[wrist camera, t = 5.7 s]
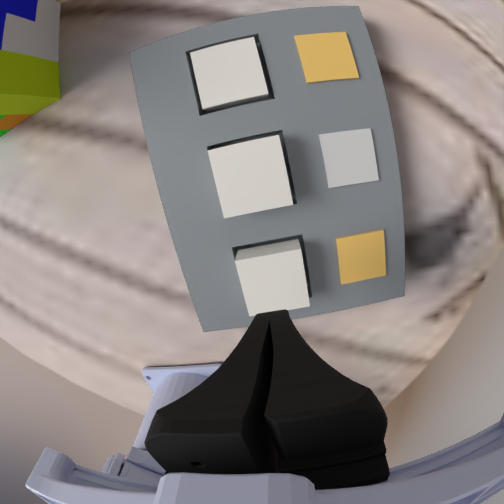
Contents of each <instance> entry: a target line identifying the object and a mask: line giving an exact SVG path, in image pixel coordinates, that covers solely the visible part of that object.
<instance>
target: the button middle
mask: <svg viewBox="0 0 504 504" xmlns="http://www.w3.org/2000/svg"><path fill="white" fill-rule="evenodd" d="M208 155H209V159H210V163H211V167H212V171H213V176H214V180H215V184H216V188H217V192H218V196H219V200H220V204H221V208H222V212H223V216H224V218H229V217H234V216H239V215H244V214H248V213H253V212H259V211H264V210H269V209H274V208H279V207H284V206H290V205H293V201H292V196H291V191H290V185H289V180H288V175H287V170H286V166H285V161H284V156H283V151H282V146H281V142H280V137H279V135H275V136H270V137H265V138H260V139H255V140H251V141H246V142H241V143H237V144H233V145H228V146H224V147H220V148H216V149H212V150H208Z"/></svg>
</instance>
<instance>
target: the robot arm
mask: <svg viewBox="0 0 504 504" xmlns="http://www.w3.org/2000/svg"><path fill="white" fill-rule="evenodd" d="M142 375H143V376H144V378H145V380H146V381H147V383H148V385H149V387H150V388H151V390H152V392H153V393H154V395H153V397H152V400H151V402H150V404H149V407H148V409H147V412H146V414H145V417H144V419H143V422H142V424H141V427H140V429H139V432H138V434H137V437H136V439H135V442H134V444H133V446H132V447H131V449H130V451H129V454H128V457H127V459H126V460H125V459H124V457H125V455H123V454H121V453H117V454H116V455H112V456H109V457H108V459H107V460H106V463H105V465H104V467H103V469H102V471H101V472H100V471H96V470H93V469H89V468H86V467H83V466H80V465H76V464H75V462H74V461H73V460H72V459H71V458H69V457H68V456H67V455H65V454H64V453H62V452H59V451H57V450H54V449H51V448H48V447H46V448H45V449H44V451H43V453H42V455H41V457H40V458H39V460H38V462H37V464H36V465H35V467H34V469H33V471H32V473H31V475H30V477H29V478H28V480H27V482H26V487H27V488H28V489H30V490H31V491H32V492H33V493H35V494H36V495H37V496H39V497H40V498H42V499H43V500H44V501H46V502H47V503H49V504H480V503H482V502H483V501H485V500H487V499H488V498H490V497H491V496H493V495H495V494H496V493H498V492H499V491H501V490H502V489H504V414H503V416H502V418H501V421H499V422H498V423H496V424H494V425H492V426H490V427H489V428H487V429H485V430H483V431H481V432H479V433H477V434H476V435H473V436H472V437H469V438H467V439H465V440H463V441H461V442H459V443H457V444H455V445H452V446H450V447H448V448H445V449H443V450H441V451H438V452H436V453H433V454H431V455H428V456H425V457H423V458H420V459H417V460H415V461H412V462H409V463H406V464H403V465H400V466H396V467H393V468H390V469H389V467H388V463H387V460H386V456H385V453H386V448H385V444H384V437H385V433H386V428H387V417H386V414H385V411H384V409H383V407H382V406H381V404H380V402H379V401H378V399H377V397H376V396H375V395H374V393H373V392H372V390H371V389H370V388H367V387H365V386H363V385H361V384H359V383H356V382H354V381H352V380H351V379H349V378H347V377H346V376H344V375H342V374H341V373H339V372H338V371H337V370H335V369H334V368H332V367H331V366H330V365H328V364H327V363H326V362H325V361H324V360H323V359H321V358H320V357H319V356H318V355H317V354H316V353H315V352H314V351H313V350H312V349H311V348H310V346H309V345H308V344H307V343H306V342H305V340H304V339H303V338H302V337H301V335H300V334H299V332H298V331H297V329H296V328H295V326H294V324H293V322H292V320H291V318H290V316H289V311H288V310H286V309H283V310H277V311H271V312H265V313H259V314H256V315H255V317H254V319H253V320H252V322H251V324H250V326H249V328H248V329H247V331H246V333H245V334H244V336H243V337H242V339H241V340H240V342H239V343H238V345H237V346H236V348H235V349H234V350H233V351H232V353H231V354H230V355H229V357H228V358H227V359H226V360H225V361H224V363H223V364H220V363H217V364H205V365H192V366H174V367H146V368H143V369H142ZM149 376H150V377H149Z"/></svg>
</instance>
